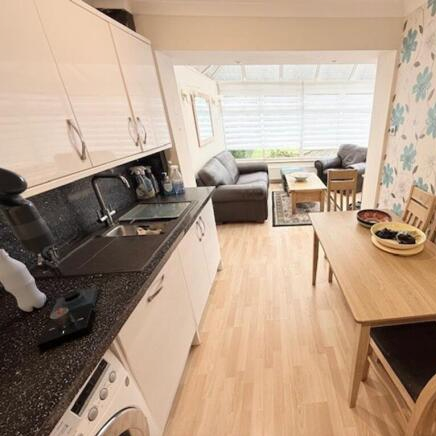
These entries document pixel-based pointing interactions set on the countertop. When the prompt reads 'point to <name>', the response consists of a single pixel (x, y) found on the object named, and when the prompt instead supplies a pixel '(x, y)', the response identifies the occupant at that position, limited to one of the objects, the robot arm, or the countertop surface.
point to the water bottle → (20, 283)
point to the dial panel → (67, 330)
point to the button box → (78, 301)
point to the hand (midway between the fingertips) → (59, 275)
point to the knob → (62, 318)
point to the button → (71, 295)
